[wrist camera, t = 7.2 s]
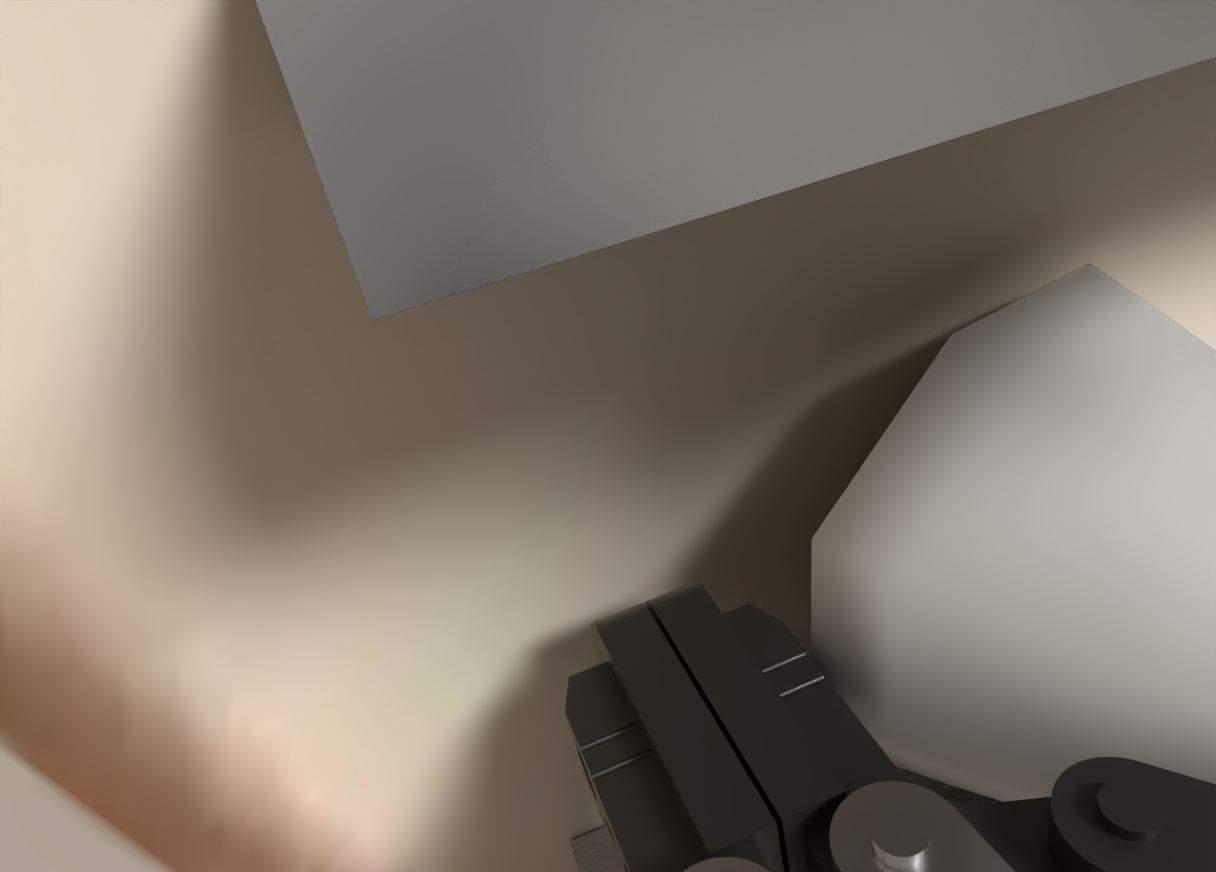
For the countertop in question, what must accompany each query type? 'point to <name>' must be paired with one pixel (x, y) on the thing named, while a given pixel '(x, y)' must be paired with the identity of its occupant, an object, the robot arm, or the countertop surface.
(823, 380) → the countertop surface
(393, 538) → the countertop surface
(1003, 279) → the countertop surface
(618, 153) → the vise jaw sliding
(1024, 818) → the robot arm
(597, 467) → the countertop surface
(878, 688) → the flask
